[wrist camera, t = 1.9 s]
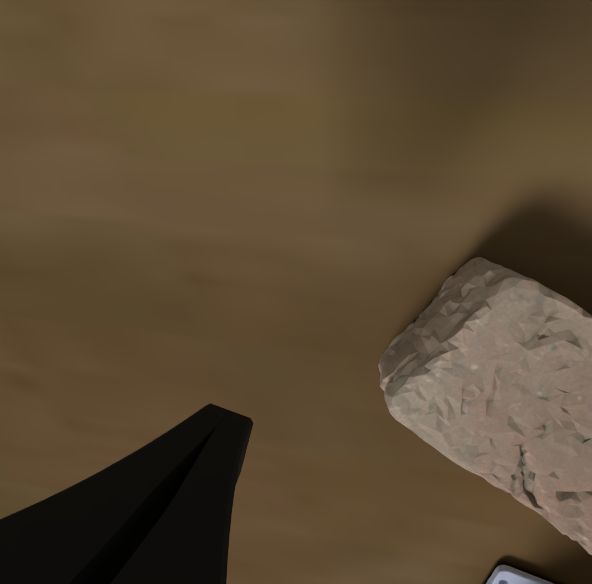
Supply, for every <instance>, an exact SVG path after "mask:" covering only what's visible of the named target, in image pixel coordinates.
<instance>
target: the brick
mask: <svg viewBox="0 0 592 584" xmlns="http://www.w3.org/2000/svg"><path fill="white" fill-rule="evenodd" d="M443 284H444V285H443V286H442V288H441V290H440V291H439V293H438V296H437V297H435V298H434V299H433V301H432V303H431V304H430V305H429V306H428V307H427V308H426V309H425V310H424V311H423V312H422V313H421V314H420V315H419V318H418V319H417V320H416V322H414V323H412V324H410V325H409V326H408V327H407V329H406V330H405V331H404V332H403V333H401V334H399V335H398V336H397V337H396V338H395V339H394V340H393V341H392V342H391V343H390V345H389V347H388V348H387V349H386V351H385V352H384V353H383V354H382V355H381V358H380V361H379V364H378V367H379V370H380V373H381V376H380V387H381V388H382V389H383V390H384V391H385V393H384V398H385V400H386V403H387V406H388V409H389V411H390V413H391V414H392V416H393V417H394V418H395V419H396V420H397V421H399V422H400V423H402V424H403V425H404V426H406V427H407V428H409V429H410V430H412V431H413V432H414V433H416V434H417V435H418V436H419V437H420V438H422V439H423V440H424V441H425V442H427V443H428V444H430V445H431V446H433V447H434V448H436V449H437V450H438V451H439V452H440V453H442V454H443V455H445V456H446V457H447V458H449V459H450V460H452V461H453V462H455V463H456V464H458V465H460V466H461V467H463V468H464V469H466V470H468V471H470V472H472V473H475V474H477V475H479V476H481V477H483V478H484V479H485V480H487V481H488V482H489V483H490V484H492V485H493V486H495V487H497V488H499V489H501V490H504V491H506V492H509V493H511V494H512V496H513V497H514V498H515V499H516V500H518V501H519V502H521V503H522V504H524V505H525V506H527V507H529V508H531V509H533V510H535V511H536V512H538V513H539V514H541V515H542V516H543V517H544V518H545V519H546V520H547V521H549V522H550V523H551V524H552V525H553V526H555V527H556V528H557V529H558V530H559V531H560V532H561V533H562V534H566V535H567V536H568V537H569V538H570V539H572V540H575V541H577V542H578V543H579V544H580V545H581V546H582V547H583V548H584V549H585V550H586V551H587V552H588V553H589V554H590V555H592V315H590V314H589V313H588V312H586V311H585V310H583V309H582V308H581V307H579V306H578V305H576V304H575V303H573V302H572V301H570V300H569V299H567V298H566V297H564V296H562V295H560V294H558V293H556V292H554V291H553V290H551V289H549V288H547V287H545V286H544V285H542V284H540V283H539V282H537V281H535V280H534V279H531V278H528V277H525V276H523V275H520V274H519V273H517V272H514V271H512V270H510V269H508V268H505V267H503V266H502V265H497V264H495V263H492V262H490V261H488V260H486V259H484V258H481V257H477V258H474V259H471V260H470V261H468V262H467V263H466V264H465V265H463V266H462V267H461V268H459V270H458V271H457V272H456V274H455V275H453V276H450V277H449V278H448V279H447V280H446V281H445V282H444V283H443Z"/></svg>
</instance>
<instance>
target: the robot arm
mask: <svg viewBox="0 0 592 584" xmlns="http://www.w3.org/2000/svg"><path fill="white" fill-rule="evenodd" d="M252 426H253V422H252V420H251V418H249V417H246V416H243V415H240V414H238V413H235V412H232V411H230V410H227V409H224V408H221V407H219V406H216V405H213V404H208V405H206V406H205V407H203V408H202V409H200V410H199V411H197V412H196V413H195V414H193V415H192V416H190V417H189V418H187V419H186V420H184V421H183V422H181V423H180V424H178V425H177V426H175V427H174V428H172V429H171V430H169V431H168V432H166V433H164V434H163V435H161V436H160V437H158V438H156V439H155V440H153V441H152V442H150V443H148V444H147V445H145V446H144V447H142V448H140V449H139V450H137V451H135V452H134V453H132V454H130V455H128V456H127V457H125V458H123V459H121V460H119V461H118V462H116V463H114V464H112V465H111V466H109V467H107V468H105V469H104V470H102V471H100V472H98V473H96V474H94V475H92V476H91V477H89V478H87V479H85V480H83V481H81V482H79V483H77V484H75V485H73V486H71V487H69V488H67V489H65V490H63V491H61V492H59V493H57V494H55V495H53V496H51V497H49V498H47V499H45V500H42V501H40V502H38V503H36V504H34V505H31V506H29V507H27V508H25V509H23V510H20V511H18V512H16V513H14V514H11V515H9V516H7V517H5V518H2V519H0V584H226V577H227V559H228V546H229V534H230V524H231V514H232V506H233V498H234V491H235V485H236V483H237V480H238V477H239V475H240V472H241V468H242V464H243V461H244V457H245V453H246V449H247V445H248V441H249V437H250V434H251V430H252ZM486 584H554V583H551V582H549V581H546V580H544V579H541V578H538V577H536V576H533V575H531V574H528V573H525V572H523V571H520V570H518V569H515V568H513V567H510V566H507V565H499V566H498V567H497V568H496V569H495V570H494V572H493V573H492V575H491V577H490V578H489V580H488V581H487V583H486Z"/></svg>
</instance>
